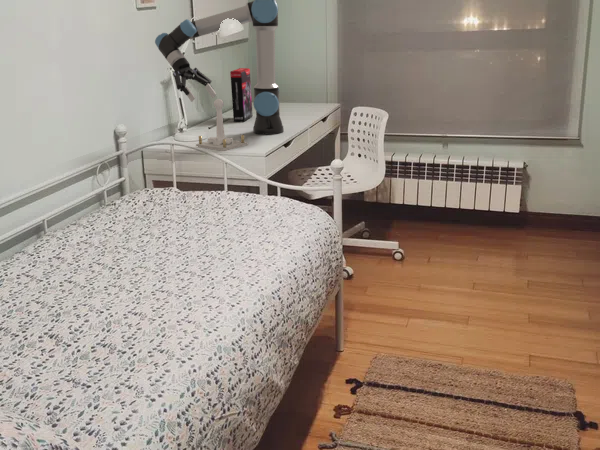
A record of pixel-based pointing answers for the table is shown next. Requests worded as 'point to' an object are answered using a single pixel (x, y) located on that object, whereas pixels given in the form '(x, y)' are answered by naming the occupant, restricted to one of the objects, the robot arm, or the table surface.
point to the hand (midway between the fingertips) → (204, 97)
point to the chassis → (224, 145)
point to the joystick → (219, 125)
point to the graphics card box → (241, 94)
